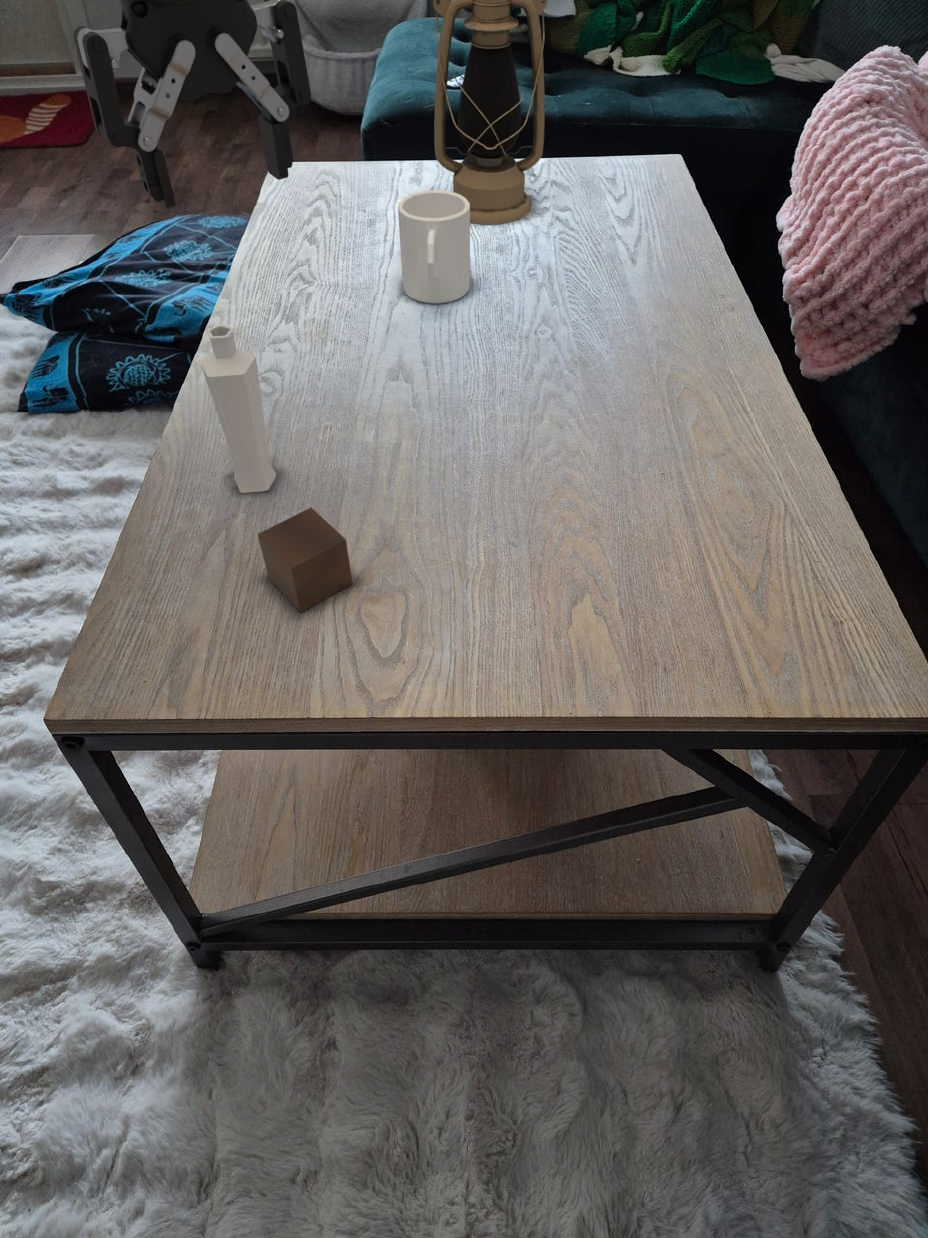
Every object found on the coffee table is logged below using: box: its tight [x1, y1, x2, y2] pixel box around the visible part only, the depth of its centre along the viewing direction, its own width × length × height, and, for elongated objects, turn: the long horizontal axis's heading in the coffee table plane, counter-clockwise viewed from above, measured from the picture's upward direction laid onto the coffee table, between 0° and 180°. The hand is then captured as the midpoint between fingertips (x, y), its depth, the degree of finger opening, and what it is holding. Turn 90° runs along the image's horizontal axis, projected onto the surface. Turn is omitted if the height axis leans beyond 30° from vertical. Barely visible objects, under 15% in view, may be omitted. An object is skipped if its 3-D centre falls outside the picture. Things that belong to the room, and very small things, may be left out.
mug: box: [397, 189, 471, 304], centre depth 98 cm, size 8×12×10 cm
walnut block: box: [257, 507, 353, 613], centre depth 68 cm, size 5×5×5 cm
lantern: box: [433, 0, 548, 225], centre depth 108 cm, size 15×12×30 cm
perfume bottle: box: [199, 323, 277, 494], centre depth 73 cm, size 5×4×15 cm
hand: (223, 189), depth 60 cm, fingers open, 8 cm apart
